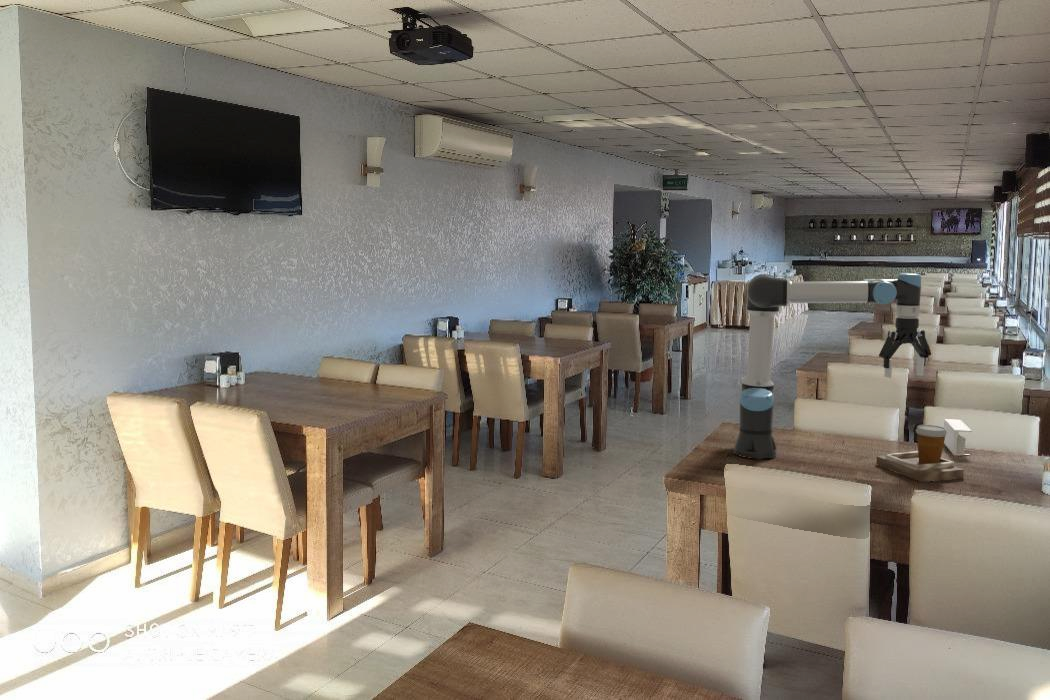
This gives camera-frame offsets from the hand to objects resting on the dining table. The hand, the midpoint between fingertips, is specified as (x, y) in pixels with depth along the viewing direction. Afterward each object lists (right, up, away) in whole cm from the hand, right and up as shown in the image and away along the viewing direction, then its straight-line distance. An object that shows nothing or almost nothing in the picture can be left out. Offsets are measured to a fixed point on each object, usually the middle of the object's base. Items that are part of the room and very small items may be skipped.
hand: (903, 376), depth 295 cm
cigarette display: (+24, -28, +11) cm, 38 cm away
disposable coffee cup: (0, -29, -18) cm, 34 cm away
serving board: (-3, -31, -17) cm, 36 cm away
